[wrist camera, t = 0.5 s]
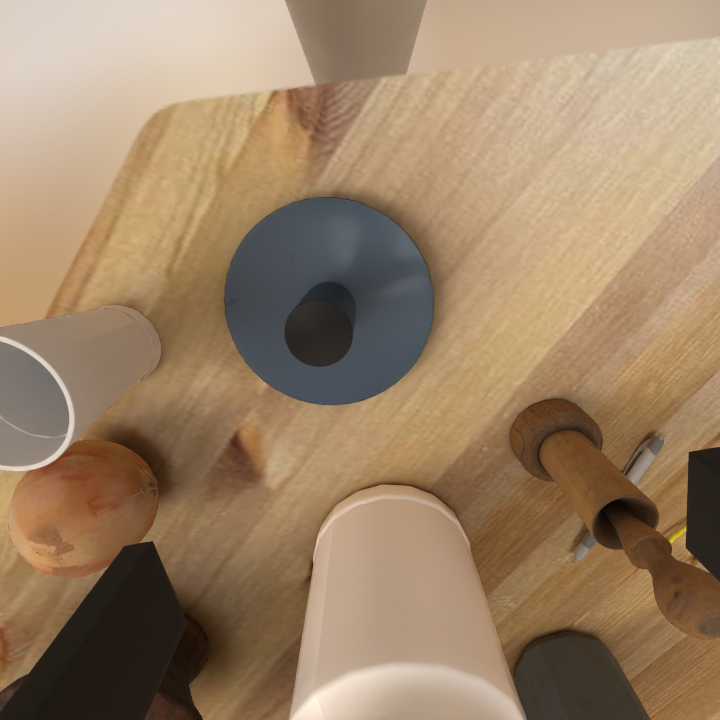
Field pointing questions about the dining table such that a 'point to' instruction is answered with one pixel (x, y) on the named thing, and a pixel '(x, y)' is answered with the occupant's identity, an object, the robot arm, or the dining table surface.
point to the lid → (329, 301)
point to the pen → (647, 455)
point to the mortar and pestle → (614, 509)
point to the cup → (67, 378)
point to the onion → (83, 508)
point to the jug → (166, 678)
